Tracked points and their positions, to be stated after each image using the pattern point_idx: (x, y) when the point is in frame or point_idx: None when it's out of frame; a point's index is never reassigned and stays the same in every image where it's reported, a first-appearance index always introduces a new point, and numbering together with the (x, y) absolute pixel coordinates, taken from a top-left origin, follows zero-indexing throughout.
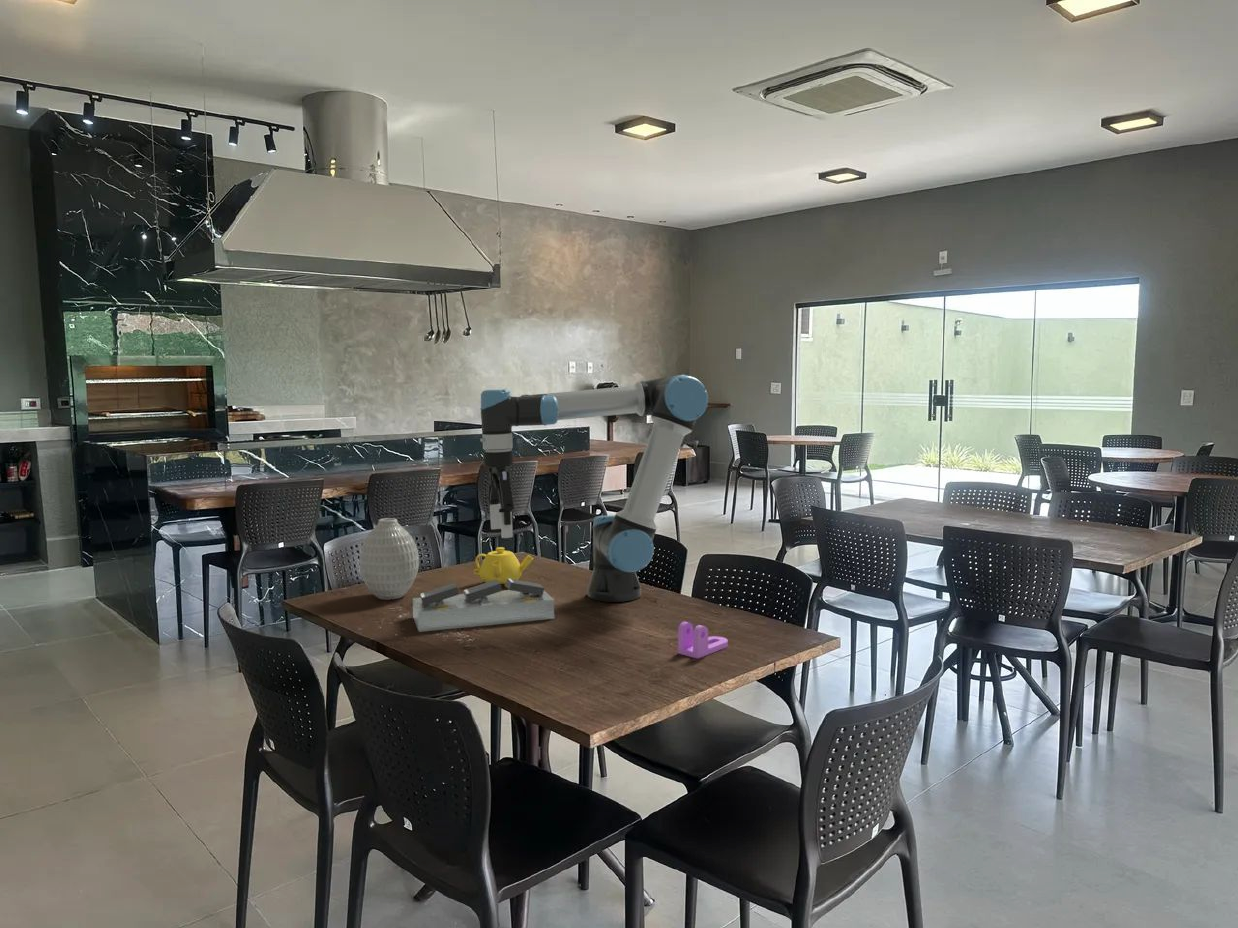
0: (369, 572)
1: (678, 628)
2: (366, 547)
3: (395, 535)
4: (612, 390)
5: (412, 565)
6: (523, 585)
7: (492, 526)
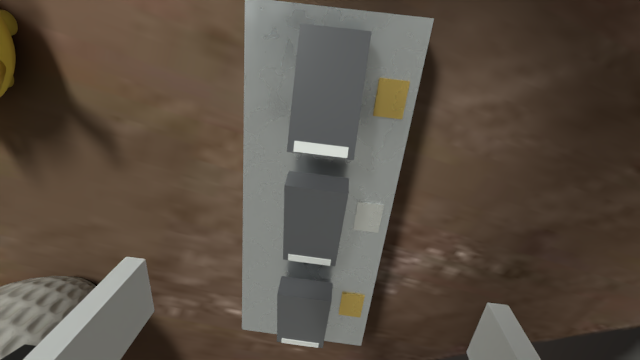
0: None
1: None
2: None
3: None
4: None
5: (50, 329)
6: (359, 113)
7: (143, 321)
